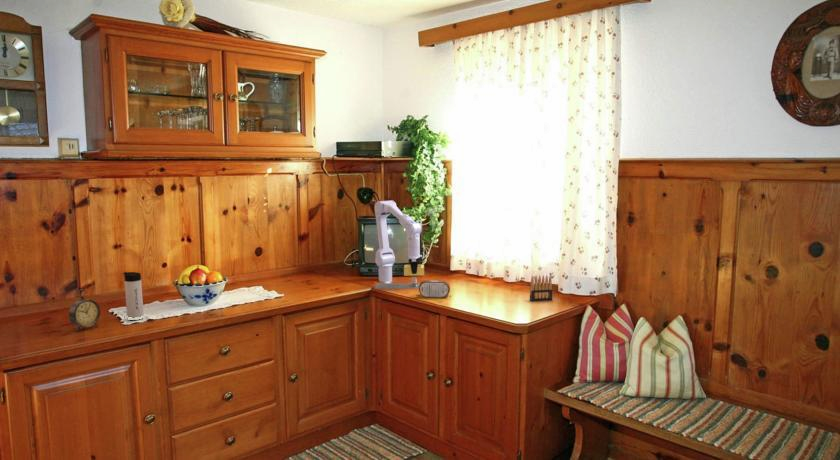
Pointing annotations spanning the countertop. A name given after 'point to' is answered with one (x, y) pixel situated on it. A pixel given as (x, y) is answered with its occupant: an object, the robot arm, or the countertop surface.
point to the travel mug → (133, 294)
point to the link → (409, 273)
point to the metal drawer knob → (414, 282)
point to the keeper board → (395, 286)
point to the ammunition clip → (541, 289)
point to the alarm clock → (84, 312)
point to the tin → (434, 288)
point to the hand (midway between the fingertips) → (414, 273)
